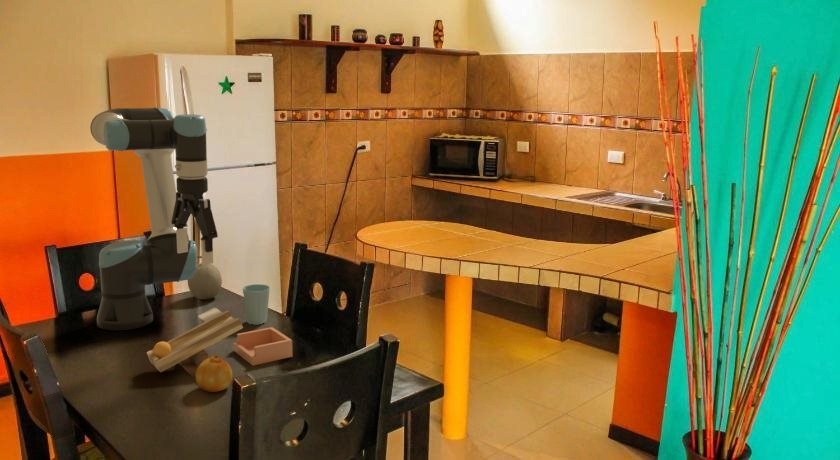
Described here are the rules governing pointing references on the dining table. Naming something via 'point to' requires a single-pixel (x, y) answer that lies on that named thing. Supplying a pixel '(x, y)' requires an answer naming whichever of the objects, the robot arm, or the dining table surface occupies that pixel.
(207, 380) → the fruit
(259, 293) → the cup
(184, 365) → the fulcrum
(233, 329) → the lever
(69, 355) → the dining table surface
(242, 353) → the dish
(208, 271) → the fruit
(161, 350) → the ball
